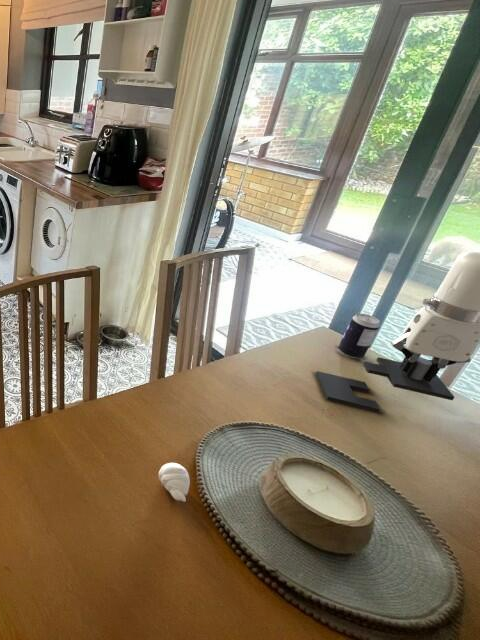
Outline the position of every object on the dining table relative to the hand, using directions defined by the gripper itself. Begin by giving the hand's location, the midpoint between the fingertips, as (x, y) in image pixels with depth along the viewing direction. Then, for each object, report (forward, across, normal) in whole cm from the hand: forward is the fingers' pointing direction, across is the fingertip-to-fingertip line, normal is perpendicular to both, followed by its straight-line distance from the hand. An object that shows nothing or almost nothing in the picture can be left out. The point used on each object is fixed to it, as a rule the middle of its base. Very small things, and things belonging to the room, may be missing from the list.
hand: (414, 374), depth 95 cm
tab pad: (+1, -2, 0) cm, 2 cm away
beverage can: (+10, -4, +19) cm, 22 cm away
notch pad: (+9, -10, 0) cm, 14 cm away
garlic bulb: (+10, -49, -47) cm, 69 cm away
